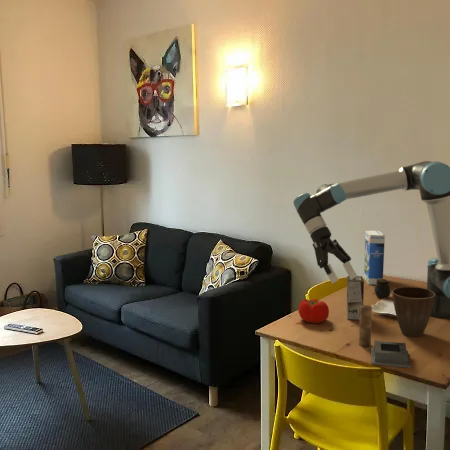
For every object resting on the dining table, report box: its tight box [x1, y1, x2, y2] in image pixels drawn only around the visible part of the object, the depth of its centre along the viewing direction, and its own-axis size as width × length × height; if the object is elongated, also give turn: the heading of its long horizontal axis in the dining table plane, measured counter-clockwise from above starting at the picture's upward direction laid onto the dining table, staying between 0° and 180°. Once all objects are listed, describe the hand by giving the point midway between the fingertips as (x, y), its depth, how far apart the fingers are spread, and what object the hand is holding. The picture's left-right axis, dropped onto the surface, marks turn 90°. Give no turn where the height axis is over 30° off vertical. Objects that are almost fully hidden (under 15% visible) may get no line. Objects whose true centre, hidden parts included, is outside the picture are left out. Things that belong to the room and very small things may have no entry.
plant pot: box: [391, 286, 435, 338], centre depth 184 cm, size 15×15×16 cm
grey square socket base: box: [370, 340, 412, 369], centre depth 164 cm, size 12×12×4 cm
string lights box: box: [363, 230, 386, 286], centre depth 255 cm, size 13×8×26 cm, turn 174°
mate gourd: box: [374, 276, 392, 299], centre depth 230 cm, size 7×8×10 cm
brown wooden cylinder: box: [358, 304, 373, 348], centre depth 175 cm, size 4×4×14 cm
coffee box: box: [346, 275, 365, 321], centre depth 204 cm, size 9×6×16 cm
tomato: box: [297, 298, 330, 324], centre depth 200 cm, size 13×12×8 cm
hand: (344, 279), depth 182 cm, fingers open, 13 cm apart
